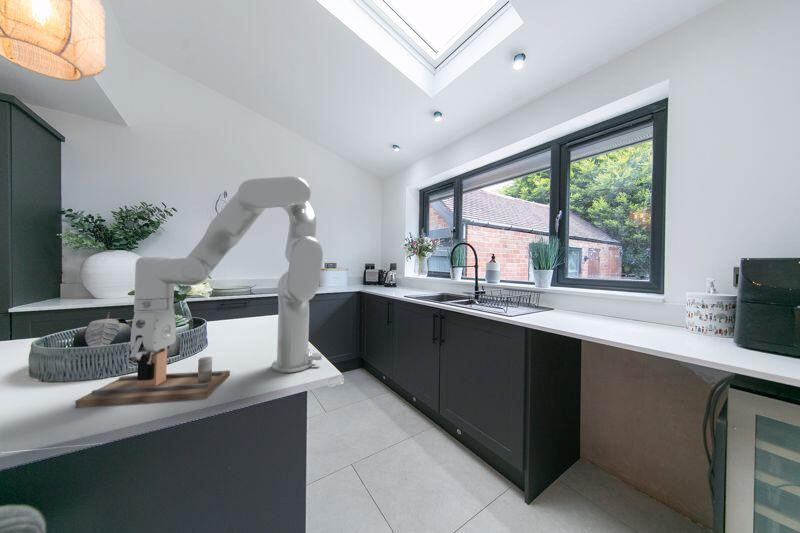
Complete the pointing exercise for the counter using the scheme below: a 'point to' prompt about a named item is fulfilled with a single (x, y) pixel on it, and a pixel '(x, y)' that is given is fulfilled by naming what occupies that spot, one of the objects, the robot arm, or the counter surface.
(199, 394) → the board
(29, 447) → the counter surface
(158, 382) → the block
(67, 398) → the counter surface
